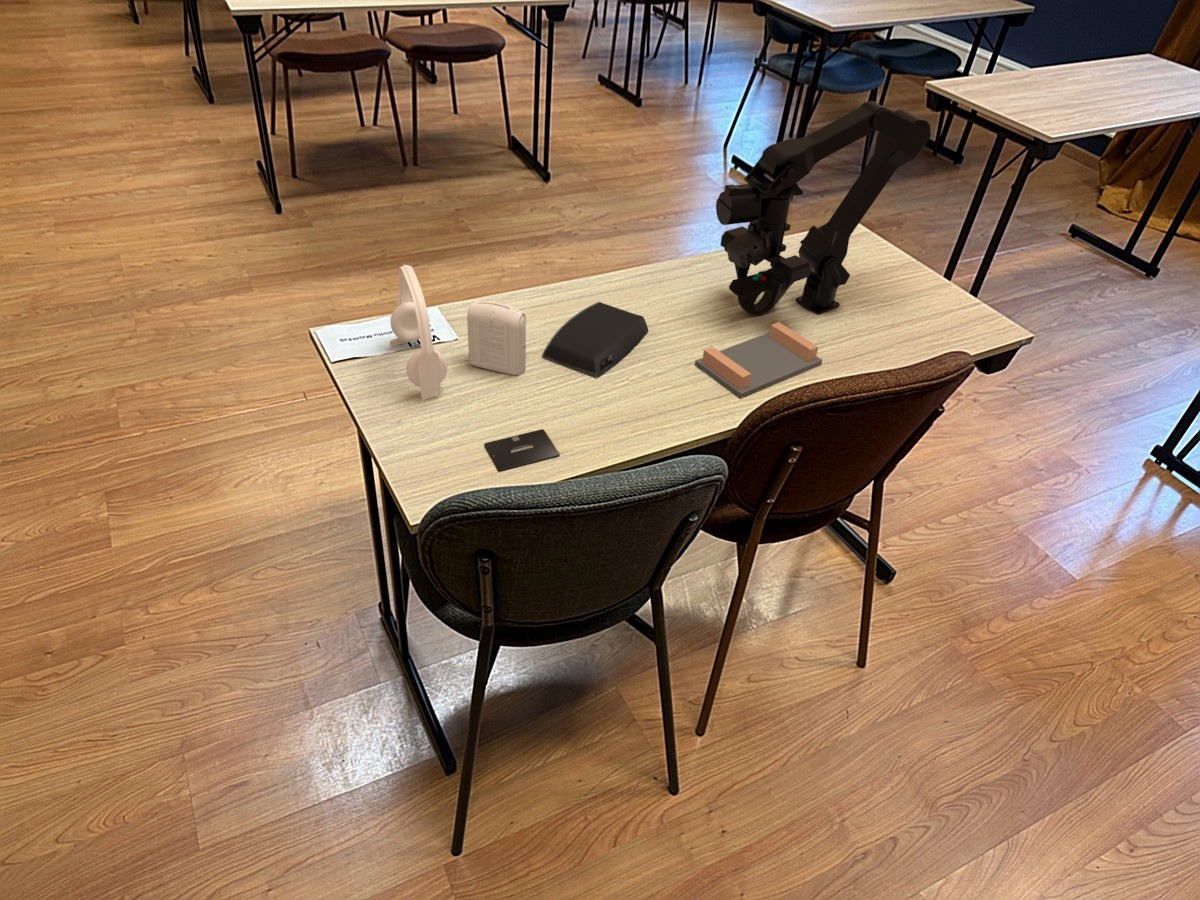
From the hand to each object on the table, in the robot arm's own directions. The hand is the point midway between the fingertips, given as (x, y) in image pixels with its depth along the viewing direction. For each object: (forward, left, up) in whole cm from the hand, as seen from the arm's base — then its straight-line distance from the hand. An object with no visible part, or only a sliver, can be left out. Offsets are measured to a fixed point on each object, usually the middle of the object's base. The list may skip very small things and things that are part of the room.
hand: (757, 294), depth 163 cm
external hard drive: (+33, -7, -5) cm, 34 cm away
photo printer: (+52, -10, -4) cm, 53 cm away
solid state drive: (+61, +12, -5) cm, 62 cm away
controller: (0, 0, -4) cm, 4 cm away
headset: (+64, -16, -4) cm, 66 cm away
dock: (+12, +14, -4) cm, 19 cm away
